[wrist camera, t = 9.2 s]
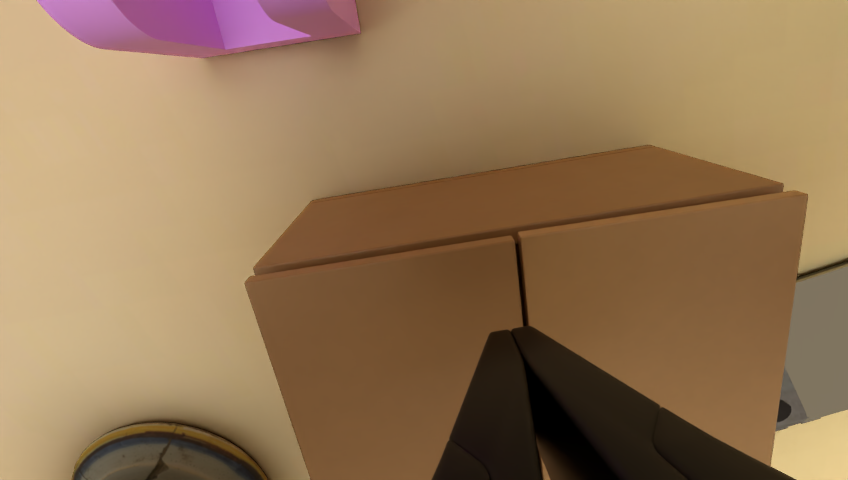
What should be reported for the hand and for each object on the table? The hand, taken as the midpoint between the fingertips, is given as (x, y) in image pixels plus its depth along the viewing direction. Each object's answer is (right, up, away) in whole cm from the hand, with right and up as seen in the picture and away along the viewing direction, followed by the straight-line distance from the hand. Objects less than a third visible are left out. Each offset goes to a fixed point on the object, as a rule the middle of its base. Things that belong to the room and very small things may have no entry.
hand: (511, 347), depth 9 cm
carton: (+2, -3, +11) cm, 11 cm away
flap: (+5, -4, +4) cm, 8 cm away
